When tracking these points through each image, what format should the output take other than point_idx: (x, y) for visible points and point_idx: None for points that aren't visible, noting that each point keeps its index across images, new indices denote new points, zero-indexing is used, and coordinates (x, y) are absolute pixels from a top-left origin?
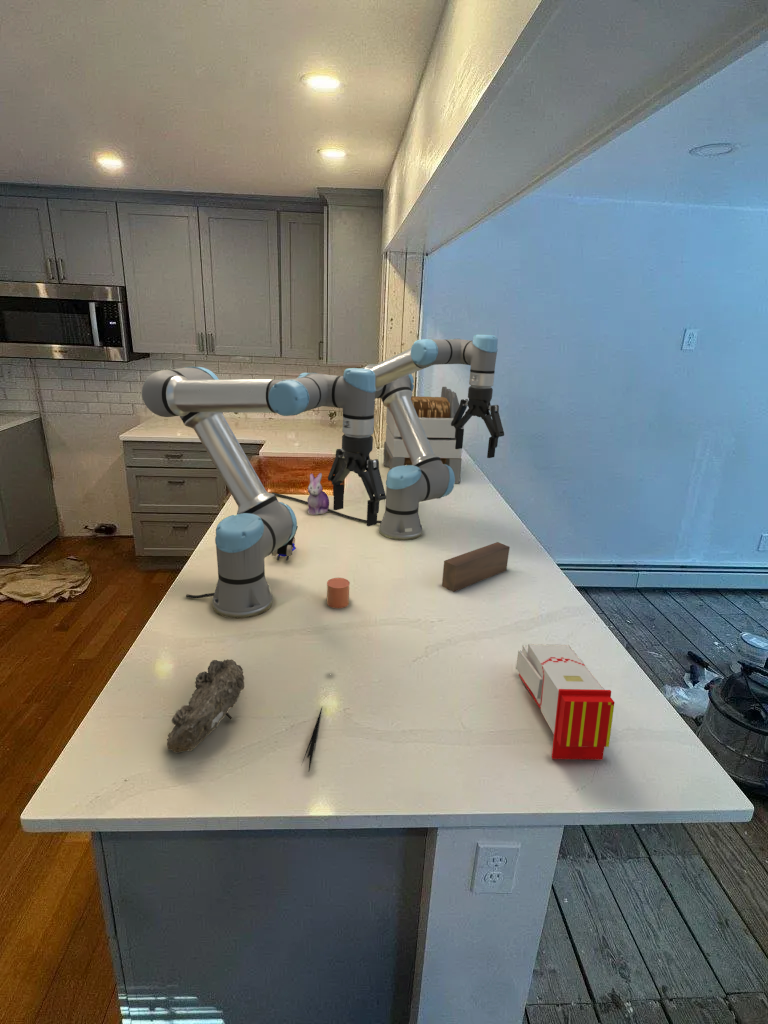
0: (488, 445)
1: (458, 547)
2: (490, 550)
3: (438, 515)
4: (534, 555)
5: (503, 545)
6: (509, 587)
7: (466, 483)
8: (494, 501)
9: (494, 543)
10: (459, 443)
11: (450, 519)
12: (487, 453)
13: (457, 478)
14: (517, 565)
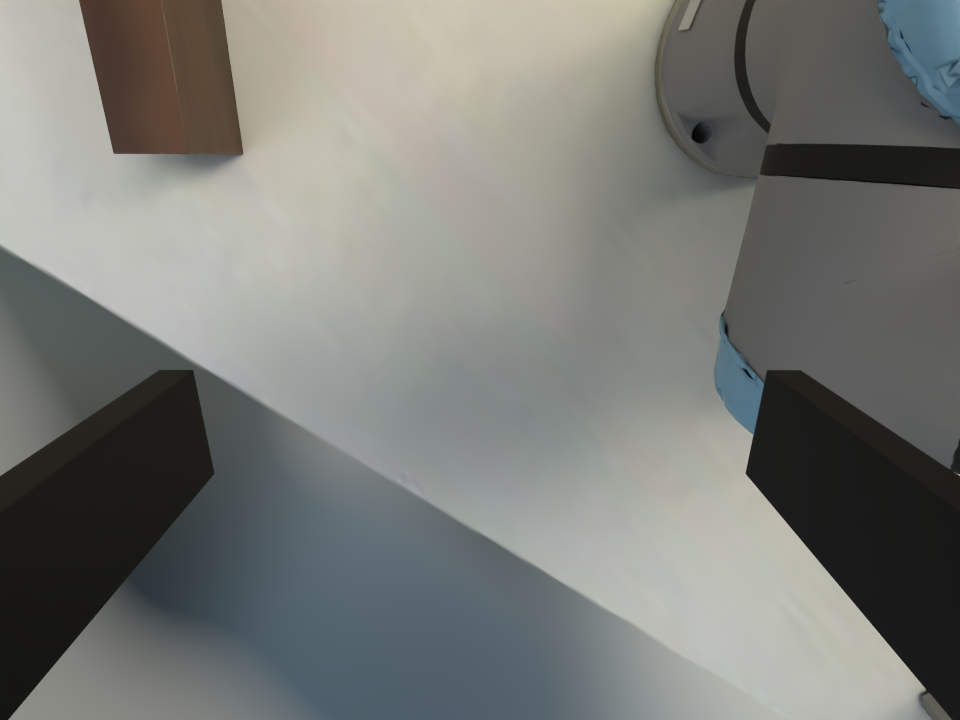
0: (59, 463)
1: (463, 170)
2: (111, 17)
3: None
4: (242, 367)
5: (138, 139)
6: (47, 22)
7: (894, 716)
8: (695, 654)
9: (178, 120)
10: (802, 453)
11: (697, 384)
12: (160, 396)
13: (942, 712)
14: (201, 235)
